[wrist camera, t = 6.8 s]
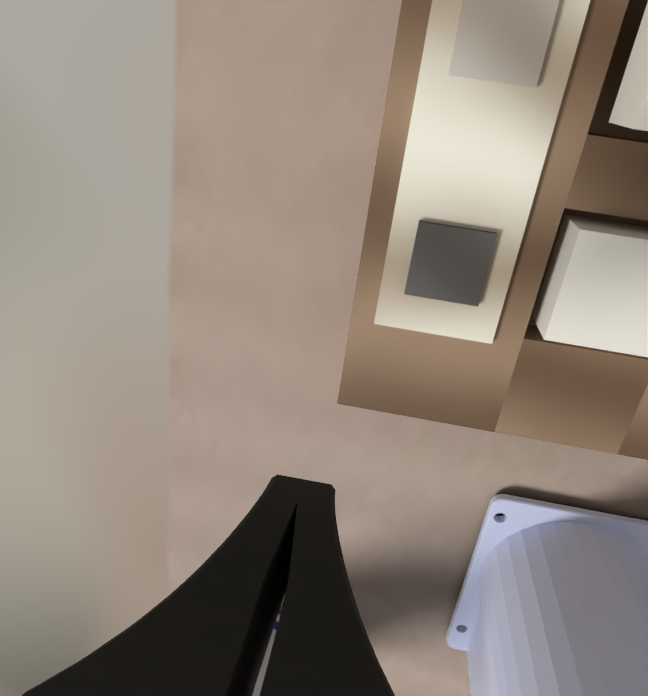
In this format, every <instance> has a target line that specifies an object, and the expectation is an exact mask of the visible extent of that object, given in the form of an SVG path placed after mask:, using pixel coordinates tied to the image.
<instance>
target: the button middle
mask: <svg viewBox="0 0 648 696" xmlns="http://www.w3.org/2000/svg"><path fill="white" fill-rule="evenodd" d="M609 123H613V124H617V125H620V126H624V127H627V128H631V129H636V130H643V131H648V2H647V5H646V8H645V12H644V15H643V18H642V21H641V24H640V27H639V30H638V33H637V36H636V39H635V42H634V45H633V48H632V52H631V55H630V58H629V61H628V64H627V67H626V70H625V73H624V76H623V79H622V82H621V85H620V88H619V92H618V95H617V98H616V101H615V104H614V107H613V110H612V113H611V116H610V119H609Z"/></svg>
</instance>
